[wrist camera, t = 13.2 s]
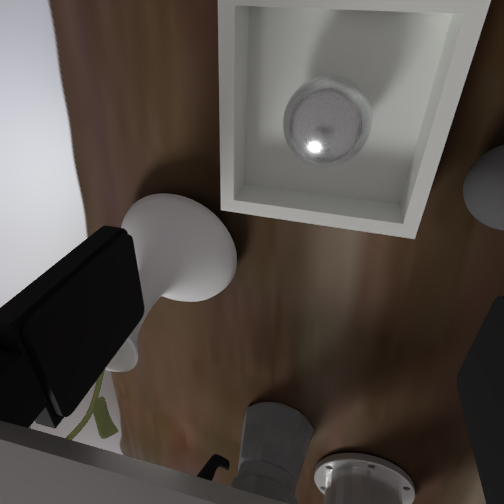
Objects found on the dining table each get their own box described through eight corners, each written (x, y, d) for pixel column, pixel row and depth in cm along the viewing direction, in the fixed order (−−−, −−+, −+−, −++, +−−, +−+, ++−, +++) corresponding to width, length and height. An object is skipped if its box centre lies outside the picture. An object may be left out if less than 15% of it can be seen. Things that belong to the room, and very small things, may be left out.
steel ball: (380, 73, 24) (382, 84, 19) (363, 158, 26) (361, 185, 22) (295, 67, 25) (277, 76, 20) (288, 148, 28) (271, 173, 23)
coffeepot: (342, 436, 46) (332, 636, 31) (298, 460, 51) (271, 641, 36) (239, 370, 44) (176, 549, 29) (204, 403, 49) (136, 568, 35)
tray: (408, 213, 29) (414, 239, 25) (235, 189, 31) (220, 210, 28) (474, -7, 21) (494, -10, 18) (237, -13, 24) (217, -18, 20)
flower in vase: (123, 176, 34) (-249, 428, 13) (245, 197, 32) (28, 531, 11) (139, 288, 41) (-87, 562, 20) (238, 310, 39) (99, 639, 18)
